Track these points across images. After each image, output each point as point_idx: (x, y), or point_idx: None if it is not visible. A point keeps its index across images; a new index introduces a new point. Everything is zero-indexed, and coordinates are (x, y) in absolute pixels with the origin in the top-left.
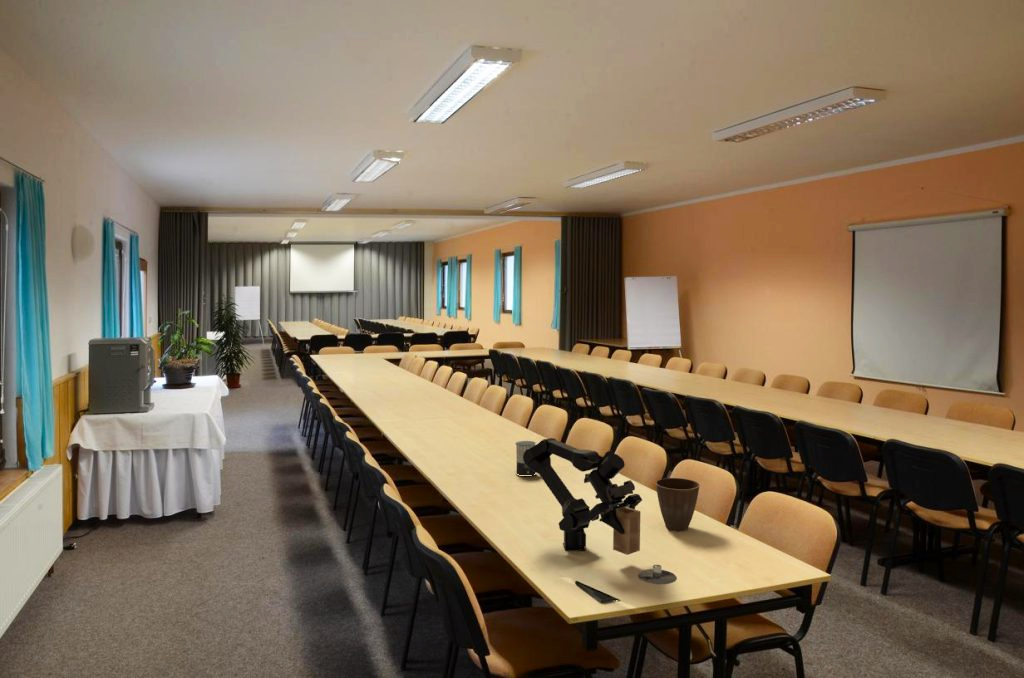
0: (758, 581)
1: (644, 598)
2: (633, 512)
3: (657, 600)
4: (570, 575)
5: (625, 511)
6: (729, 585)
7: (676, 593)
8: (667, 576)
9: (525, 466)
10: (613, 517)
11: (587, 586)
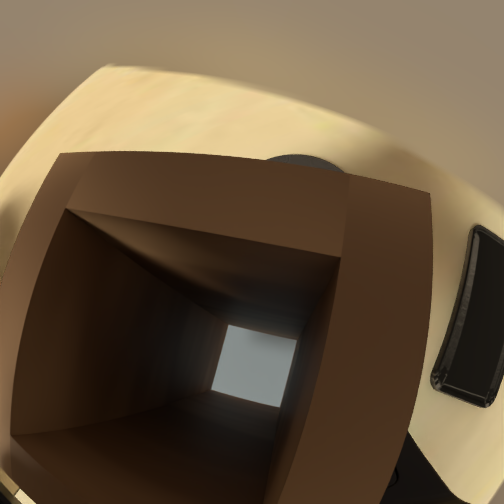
0: (162, 78)
1: (434, 187)
2: (164, 186)
3: (416, 159)
4: (445, 462)
5: (65, 445)
6: (211, 90)
7: (344, 139)
8: None
9: None
10: (442, 488)
11: (498, 351)
